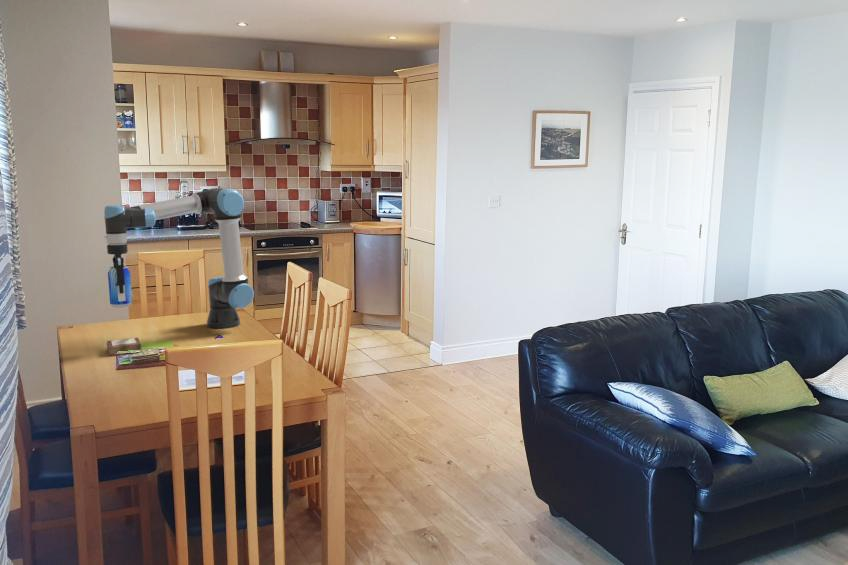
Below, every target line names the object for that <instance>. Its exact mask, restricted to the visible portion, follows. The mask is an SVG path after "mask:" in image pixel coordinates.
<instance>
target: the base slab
mask: <svg viewBox="0 0 848 565" xmlns="http://www.w3.org/2000/svg"><path fill="white" fill-rule="evenodd" d="M106 345H107V352H108V355H109V357H115V356H117V355H116V353H117V352H118V351H128V350H140V349H141V350H142V345H141V342H140V340H139V338H138V337H129V338H120V339H119V338H118V339H111V340H107V341H106Z"/></svg>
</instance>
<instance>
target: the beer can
mask: <svg viewBox="0 0 848 565" xmlns="http://www.w3.org/2000/svg"><path fill="white" fill-rule="evenodd" d="M123 271H124V282H125V284H124V285H125V298H126V301H118V291H117V286H116V284H117V273H116V269H115V268H114V266H110V267H109V270H108V272H107V280H108V292H109V304H110V305H111V306H112V308H127V307H131V305H132V303H133V291H132V279H131V278H132V276H131V271H130V269H129V268H128V266H126V265H124V268H123Z"/></svg>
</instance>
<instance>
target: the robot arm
mask: <svg viewBox="0 0 848 565" xmlns="http://www.w3.org/2000/svg"><path fill="white" fill-rule="evenodd" d="M244 209H245V200H244V197H243V195H242V194H241V193H240V192H239V191H237V190H235V189H233V188H220V187H219V188H218V187H215V188H209V189H207V190H203V191H198V192H197V191H196V192H193V193H192V194H191V195H190V196H189V195H188V196H184V197H179V198H171V199H167V200H162V201H156V202H150V203H145V204H140V205H135V206H129V207H127V206H124V205H121V204H116V205H115V204H114V205H113V204H112V205H111V204H109V205H106V206H105V207H104V211H103V213H104V214H103V215H104V216H103V217H104V224H105V236H104V239H106V244H107V245H106V251H107V254H108V255H113V257H112V263H113V264H112V265H113V267H114V268H115V269H116V273H117V284H116V286H117V291H118V301H126V298H125V285H124V284H125V282H124V271H123V268H124V266H125V265H124V263H125V261H124V260H125V259H124V257H122V255H124V254H127V253H128V244H127V243H128V236H127V229H136V228H137V229H139V228H146V229H147V228H150V227H151V228H152V227H154V226H155V224H156V221H157V220H164V219H168V218H173V217H178V216H184V215H190V214H194V213H195V214H197V215H200V214H202V215H203V214H213V216H214V217H213V218H214V221H215V222H216V223H217V224H218V228H219V229H218V231H219V238H220V239H219V240H220V246H221V255H222V256H221V257H222V265H223V273H224V275H223V276H217V277H212V278H209V279H208V286H207V287H208V297H209V298H208V299H209V312H208V316H207V319H206V326H207V327H208V328H212V329H227V328H233V327H237V326H239V325H240V324H241V319H240V316H239V314H238V311H237V309H244V308H247V307H248V306H250V304H251V303H252V302H253V300H254V296H255V290H254V289H253V287H252V286H251V285H250V284H249V277H248V276H247V275H246V273H245V272H244V263H243V254H242V244H241V235H240V228H239V227H240V226H239V222H240V220H241V219H242V212H243V210H244Z"/></svg>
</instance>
